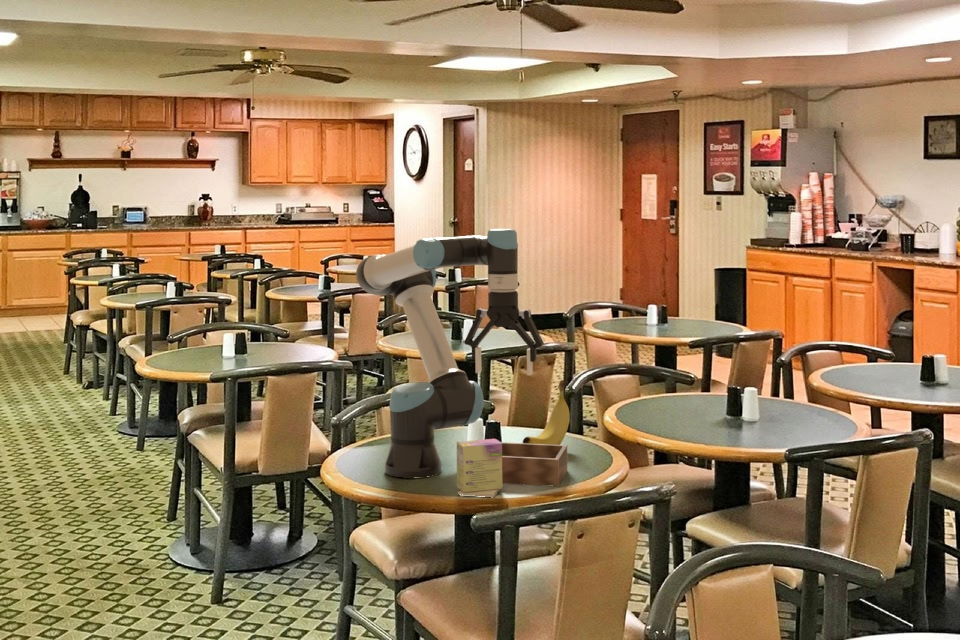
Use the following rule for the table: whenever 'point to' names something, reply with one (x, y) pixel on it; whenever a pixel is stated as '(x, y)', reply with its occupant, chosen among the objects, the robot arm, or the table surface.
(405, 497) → the table surface
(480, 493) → the tile
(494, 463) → the box
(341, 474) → the table surface
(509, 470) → the crate
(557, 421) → the banana
